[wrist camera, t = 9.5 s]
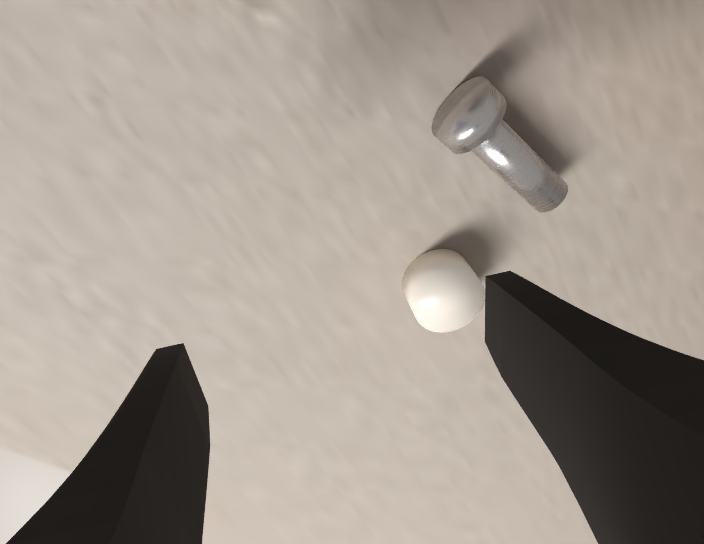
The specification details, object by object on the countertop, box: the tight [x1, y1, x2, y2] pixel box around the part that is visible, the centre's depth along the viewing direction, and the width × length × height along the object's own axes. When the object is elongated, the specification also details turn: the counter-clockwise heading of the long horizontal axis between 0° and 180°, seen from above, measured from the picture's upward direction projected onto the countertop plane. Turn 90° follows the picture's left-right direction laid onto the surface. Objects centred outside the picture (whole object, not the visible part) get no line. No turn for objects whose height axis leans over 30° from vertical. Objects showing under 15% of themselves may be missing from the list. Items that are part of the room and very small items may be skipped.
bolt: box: [432, 76, 568, 212], centre depth 21 cm, size 6×3×3 cm, turn 49°
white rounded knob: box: [402, 249, 485, 332], centre depth 24 cm, size 3×3×2 cm
